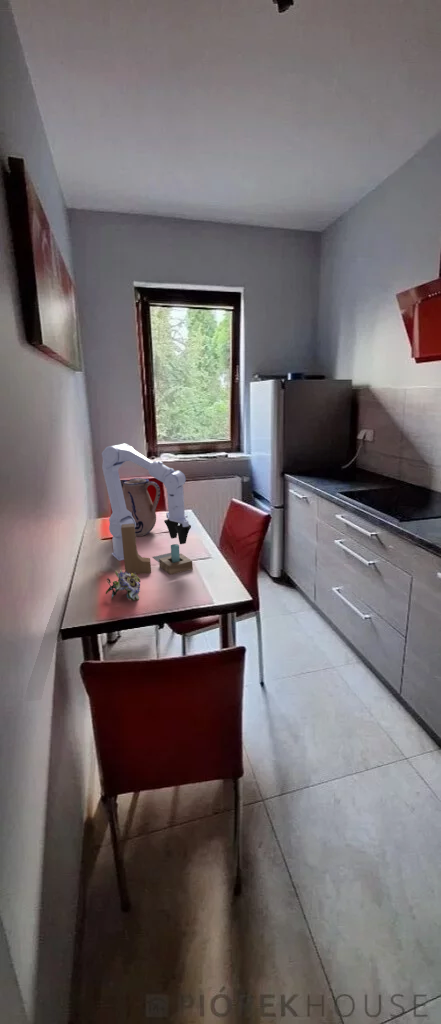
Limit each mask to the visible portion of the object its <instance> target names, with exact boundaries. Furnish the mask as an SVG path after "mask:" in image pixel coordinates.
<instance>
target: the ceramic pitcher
mask: <svg viewBox="0 0 441 1024" xmlns="http://www.w3.org/2000/svg"><path fill="white" fill-rule="evenodd" d="M120 481H121V486H122V490H123V495H124V499H125V504H126V508H127V510H128V511H130V512H131V513H132V517H133V518H134V520H135V522H136V527H135V536H136V537H142V536H145V535H148V534H149V533H150V532H151V531H152V530H153V529H154V528H155V526H156V523H157V513H156V510H157V507H158V505H159V501H160V497H161V488H160V487H161V486H159V484H158V483H157V482H155V481H150V480H149V478H141V477H135V478H131V479H129V480H126V479H120ZM149 486H153V487H154V488H155V498H154V500H153V501H152V497H151V496H150V493H149V491H148V487H149Z"/></svg>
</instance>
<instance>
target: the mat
mask: <svg viewBox="0 0 441 1024" xmlns="http://www.w3.org/2000/svg"><path fill="white" fill-rule="evenodd" d="M168 556H171V552H167V553H164V554H159V555H156V556H152V559H154V560H155V561H157V562H158V563H159V559H160V558H164V557H168Z"/></svg>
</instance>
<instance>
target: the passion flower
mask: <svg viewBox="0 0 441 1024" xmlns="http://www.w3.org/2000/svg"><path fill="white" fill-rule="evenodd" d="M114 573H115V575H116V577H117V579H118V580H113V581H111V579H110V578H109V577H108V578H107V579H106V582H107V583H108V585H109V587H108V589H107V590H106V591H105V594H106V595H107V594H109V592H111V593H112V594H111V600H113V599H114V597H115V596H116V595H117V593H118V592H119V591H121V592H122V591H126V593H127V594H126V599H128V600H131V601H133V602H135V601H138V600H140V597H139V593H140V592H141V578H140V577H139V576H138V574H136V573H135V572H134V574H133V573H131V574H130V573H127V572H126V573H125V571H124V572H123V571H122V569H120V570H119V572H118V571H117V570H114ZM111 582H112V584H111ZM114 589H115V590H114Z"/></svg>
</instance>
